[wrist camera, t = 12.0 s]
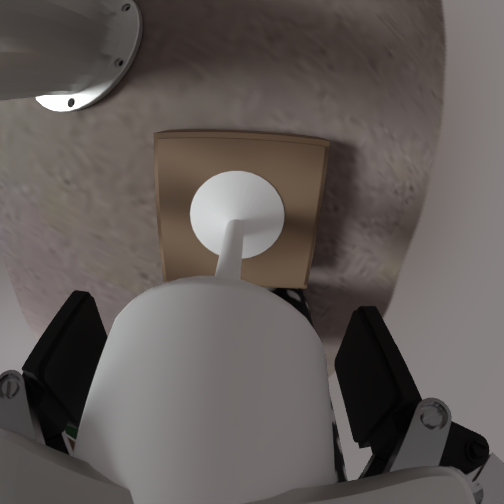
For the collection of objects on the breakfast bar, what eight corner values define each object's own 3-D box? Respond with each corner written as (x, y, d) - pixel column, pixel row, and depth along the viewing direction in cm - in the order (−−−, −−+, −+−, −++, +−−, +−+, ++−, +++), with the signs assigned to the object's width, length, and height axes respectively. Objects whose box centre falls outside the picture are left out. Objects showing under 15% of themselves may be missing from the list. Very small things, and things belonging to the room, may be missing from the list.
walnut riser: (168, 130, 20) (152, 133, 16) (317, 136, 20) (331, 141, 17) (173, 260, 25) (162, 284, 22) (300, 266, 26) (307, 291, 22)
